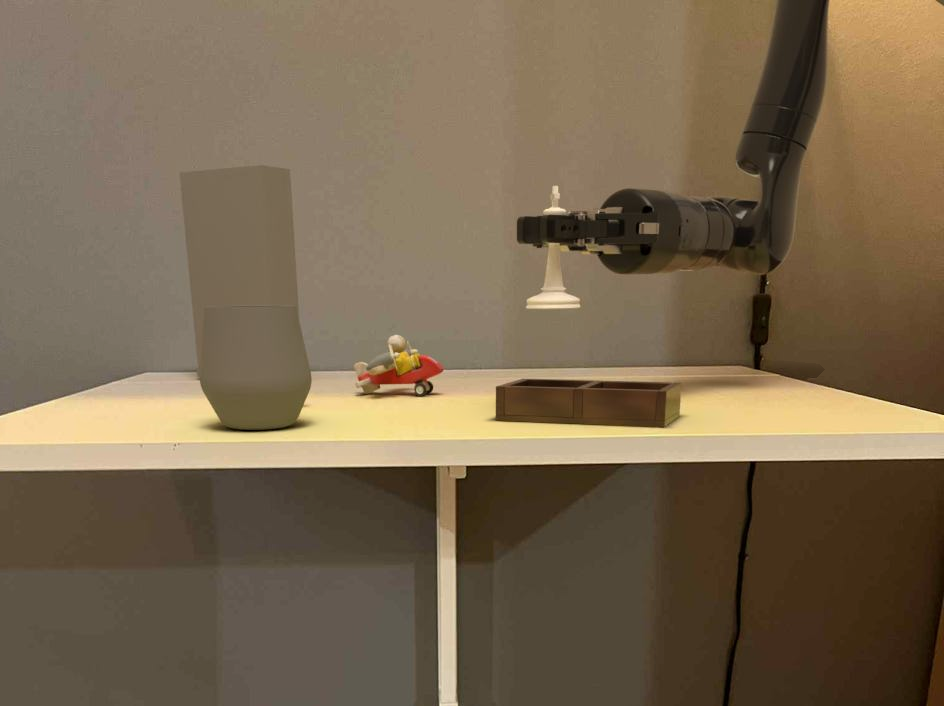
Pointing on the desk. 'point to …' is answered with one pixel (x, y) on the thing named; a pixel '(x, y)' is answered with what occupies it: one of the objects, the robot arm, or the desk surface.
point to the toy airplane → (398, 368)
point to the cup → (254, 365)
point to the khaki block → (238, 239)
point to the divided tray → (589, 402)
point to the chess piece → (553, 272)
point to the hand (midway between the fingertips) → (532, 229)
